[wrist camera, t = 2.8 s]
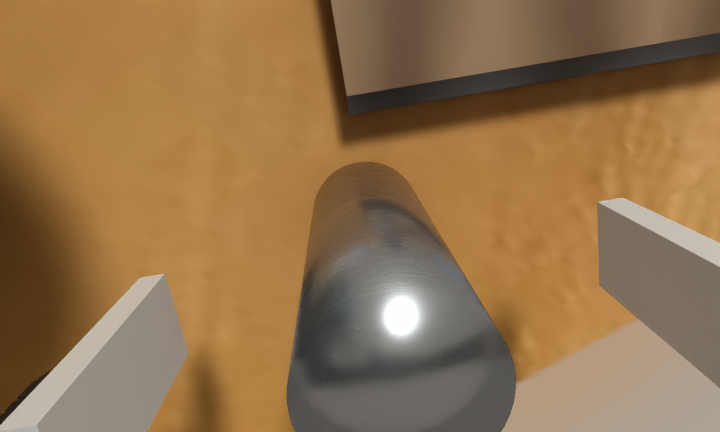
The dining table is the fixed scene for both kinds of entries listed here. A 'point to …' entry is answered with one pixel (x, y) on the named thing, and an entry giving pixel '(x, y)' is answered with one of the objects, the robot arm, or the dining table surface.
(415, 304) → the steel cylinder rod
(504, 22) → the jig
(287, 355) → the dining table surface
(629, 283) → the robot arm
